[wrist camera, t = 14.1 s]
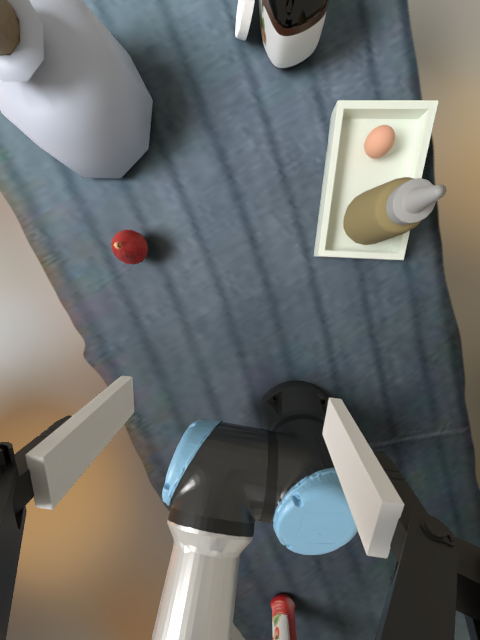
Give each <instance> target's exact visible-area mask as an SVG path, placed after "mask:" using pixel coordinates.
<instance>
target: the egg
mask: <svg viewBox="0 0 480 640" xmlns="http://www.w3.org/2000/svg"><path fill="white" fill-rule="evenodd" d="M394 141H395V132H394V130H393V128H392V127H390V126H388V125H380V126H378V127H376V128H374V129H373V130H372V131H371V132H370V133H369V134H368V136H367V138H366V140H365V144H364V150H365V153H366V154H367V155H368V156H369V157H371V158H379V157H382V156H384V155H385V154H386V153H387V152H388V151H389V150H390V149H391V148H392V146H393V144H394Z"/></svg>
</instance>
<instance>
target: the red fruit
mask: <svg viewBox="0 0 480 640" xmlns="http://www.w3.org/2000/svg"><path fill="white" fill-rule="evenodd" d="M111 245H112V250H113V253H114V255H115V256H116V257H117V258H118V259H119V260H121V261H122V262H124V263H127V264H137V263H140V262H143V260H144V259H145V258H146V257H147V253H148V245H147V242H146V240H145V238H144V237H143V236H142V235H141V234H139V233H137V232H135V231H133V230H123V231H121V232H118V233H117V234H116V235H115V236H114V237H113V240H112V243H111Z"/></svg>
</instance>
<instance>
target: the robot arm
mask: <svg viewBox="0 0 480 640" xmlns="http://www.w3.org/2000/svg"><path fill="white" fill-rule="evenodd" d="M133 413H134V400H133V381H132V377H129V376H120V377H119V378H118V379H117V380H116V381H114V382H113V383H112V384H111V385H110V386H108V387H107V388H106V389H105V390H104V391H102V392H101V393H100V394H99V395H97V396H96V397H95V398H94V399H93V400H91V401H90V402H89V403H88V404H86V405H85V406H84V407H83V408H82V409H80V410H79V411H78V412H77V413H76V414H74V415H73V416H66V417H64V418H63V419H60V420H58V421H57V422H55V423H54V424H53V425H51V426H50V427H49V428H48V429H47V430H45V431H44V432H43V433H41V434H40V436H37V437H36V438H35V439H34V440H32V441H31V442H30V443H29V444H27V445H26V446H25V447H23V448H22V449H21V450H20V451H18V452H17V453H16V454H15V455H14V451H13V446H12V444H11V443H9V442H0V640H6V635H7V628H8V622H9V616H10V610H11V604H12V598H13V591H14V585H15V579H16V573H17V567H18V560H19V554H20V548H21V541H22V535H23V530H24V524H25V517H26V506H25V505H26V504H27V503H28V502H29V501H30V500H31V499H32V498H33V497H34V501H35V505H36V507H38V508H45V509H51V510H53V509H54V507H55V506H56V505H57V504H58V503H59V501H60V500H61V499H62V498H63V497H64V495H65V494H66V493H67V492H68V491H69V489H70V488H71V487H72V486H73V485H74V483H75V482H76V481H77V480H78V479H79V477H80V476H81V475H82V474H83V473H84V471H85V470H86V469H87V468H88V467H89V465H90V464H91V463H92V462H93V461H94V460H95V458H96V457H97V456H98V455H99V454H100V452H101V451H102V450H103V449H104V448H105V446H106V445H107V444H108V443H109V442H110V440H111V439H112V438H113V437H114V435H115V434H116V433H117V432H118V431H119V429H120V428H121V427H122V426H123V425H124V424H125V422H126V421H127V420H128V419H129V418H130V416H131V415H132V414H133ZM260 418H261V424H262V427H263V429H259V428H253V427H248V426H242V425H236V424H231V423H225V422H223V421H221V420H218V421H211V420H203V419H200V420H197V421H195V422H193V423H192V424H191V425H190V426H189V427H188V428H187V430H186V431H185V433H184V435H183V436H182V438H181V440H180V442H179V444H178V446H177V449H176V451H175V453H174V456H173V458H172V461H171V463H170V466H169V469H168V472H167V475H166V482H165V485H164V488H163V492H162V498H163V501H164V502H165V503H166V504H167V505H169V506H171V510H170V514H169V518H168V522H167V523H168V526H169V528H170V530H171V533H172V535H173V537H174V546H173V551H172V555H171V559H170V563H169V568H168V572H167V576H166V580H165V585H164V589H163V593H162V598H161V602H160V606H159V611H158V615H157V619H156V623H155V627H154V632H153V636H152V640H231V635H232V626H233V616H234V606H235V597H236V587H237V577H238V568H239V558H240V554H241V552H242V551H243V549H244V548H245V547H246V546H247V545H248V544H249V543H250V542H251V541H252V540H253V534H254V522H255V520H256V521H262V522H268V523H272V524H273V526H274V530H275V532H276V535H277V537H278V539H279V541H280V542H281V543H282V544H283V545H286V547H287V548H288V549H289V550H291V551H293V552H296V553H299V554H304V555H319V554H324V553H328V552H331V551H334V550H336V549H338V548H339V547H341V546H343V545H345V544H346V543H347V542H349V541H350V540H351V539H352V538H353V537H354V535H355V534H356V533H357V531H358V532H359V535H360V538H361V541H362V543H363V546H364V549H365V552H366V554H367V556H374V557H381V558H387V557H388V554H389V551H390V548H391V549H392V551H393V553H394V556H395V558H396V560H397V561H396V564H395V567H394V570H393V573H392V576H391V579H390V580H391V582H390V586H389V590H388V594H387V597H386V601H385V605H384V609H383V612H382V616H381V620H380V624H379V628H378V631H377V635H376V639H375V640H454V632H455V611H456V610H457V611H459V612H461V613H463V614H465V619H466V623H467V627H468V631H469V635H470V639H471V640H480V547H477V546H475V545H472V544H470V543H468V542H465V541H463V540H460V539H458V538H456V537H454V535H453V534H452V532H451V531H450V530H449V529H448V528H447V527H446V526H445V525H444V524H443V523H442V522H440V521H439V520H438V519H436V518H435V517H433V516H431V515H429V514H428V513H427V512H426V510H425V509H424V507H423V506H422V504H421V503H420V501H419V500H418V498H417V497H416V495H415V494H414V492H413V491H412V489H411V488H410V486H409V485H408V483H407V482H406V481H405V479H404V477H403V476H402V474H401V473H399V470H398V468H397V467H396V465H395V464H394V463H393V461H392V460H391V459H390V458H389V457H388V456H386V455H385V454H384V453H383V452H379V451H372V450H371V448H370V446H369V445H368V443H367V441H366V440H365V438H364V436H363V435H362V433H361V431H360V430H359V428H358V426H357V425H356V423H355V421H354V420H353V418H352V416H351V414H350V413H349V411H348V409H347V408H346V406H345V404H344V403H343V401H342V399H337V398H329V400H328V399H327V397H326V396H325V394H324V393H323V392H322V391H321V390H320V389H318V388H317V387H315V386H314V385H312V384H309V383H306V382H302V381H289V382H284V383H281V384H279V385H277V386H275V387H274V388H272V389H271V390H270V391H269V392H268V393H267V394H266V395H265V397H264V398H263V401H262V403H261V408H260Z"/></svg>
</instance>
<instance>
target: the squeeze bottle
mask: <svg viewBox="0 0 480 640" xmlns="http://www.w3.org/2000/svg"><path fill="white" fill-rule="evenodd" d="M445 193H446V187H445V186H444V185H435V186H434V185H433V184H431V183H430V182H429V181H428V180H425V179H422V178H417V179H413V178H410V177H403V178H398V179H394V180H392V181H389V182H387V183H384V184H382V185H379V186H377V187H375V188H372V189H370V190H367V191H365V192H363V193H361V194H360V195H358V196H356V197H355V198H354V199H353V200H352V202H351V203H350V204H349V205H348V207H347V209H346V212H345V215H344V219H343V228H344V230H345V232H346V234H347V236H348V237H349V238H351V239H352V240H353V241H354V242H355V243H358V244H362V245H371V244H376V243H379V242H382V241H385V240H387V239H390V238H393V237H396V236H398V235H401V234H404V233H406V232H408V231H410V230H412V229H413V228H415V227H416V226H417V225H418V224H419V223H420V222H421V221H422V220H423V219H424V218H426V217H427V216H428V215H429V214H430V213H431V212H432V210H433V208H434V206H435V203H436V201H437V200H438V199H440V198H441V197H443V195H444V194H445Z"/></svg>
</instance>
